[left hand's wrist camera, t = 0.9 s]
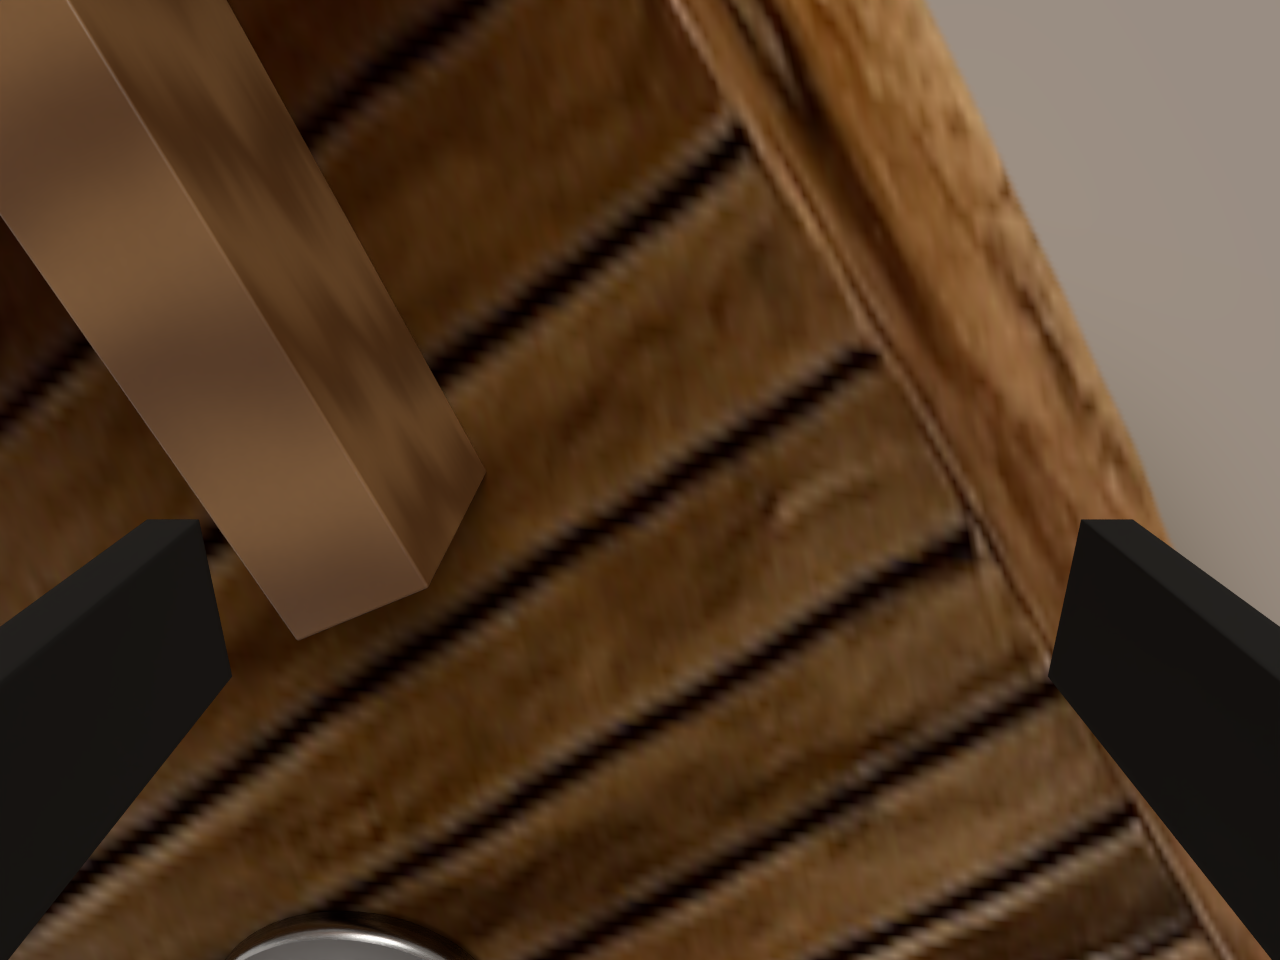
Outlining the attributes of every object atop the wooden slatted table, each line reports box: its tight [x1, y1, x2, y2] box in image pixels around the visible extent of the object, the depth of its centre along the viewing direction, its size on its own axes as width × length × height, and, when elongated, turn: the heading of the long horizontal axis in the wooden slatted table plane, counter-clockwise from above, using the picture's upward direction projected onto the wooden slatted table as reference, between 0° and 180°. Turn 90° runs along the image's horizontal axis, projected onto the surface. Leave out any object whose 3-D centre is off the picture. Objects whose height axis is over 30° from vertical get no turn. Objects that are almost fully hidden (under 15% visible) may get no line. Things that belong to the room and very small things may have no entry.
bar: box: [0, 0, 486, 640], centre depth 24 cm, size 25×4×9 cm, turn 24°
